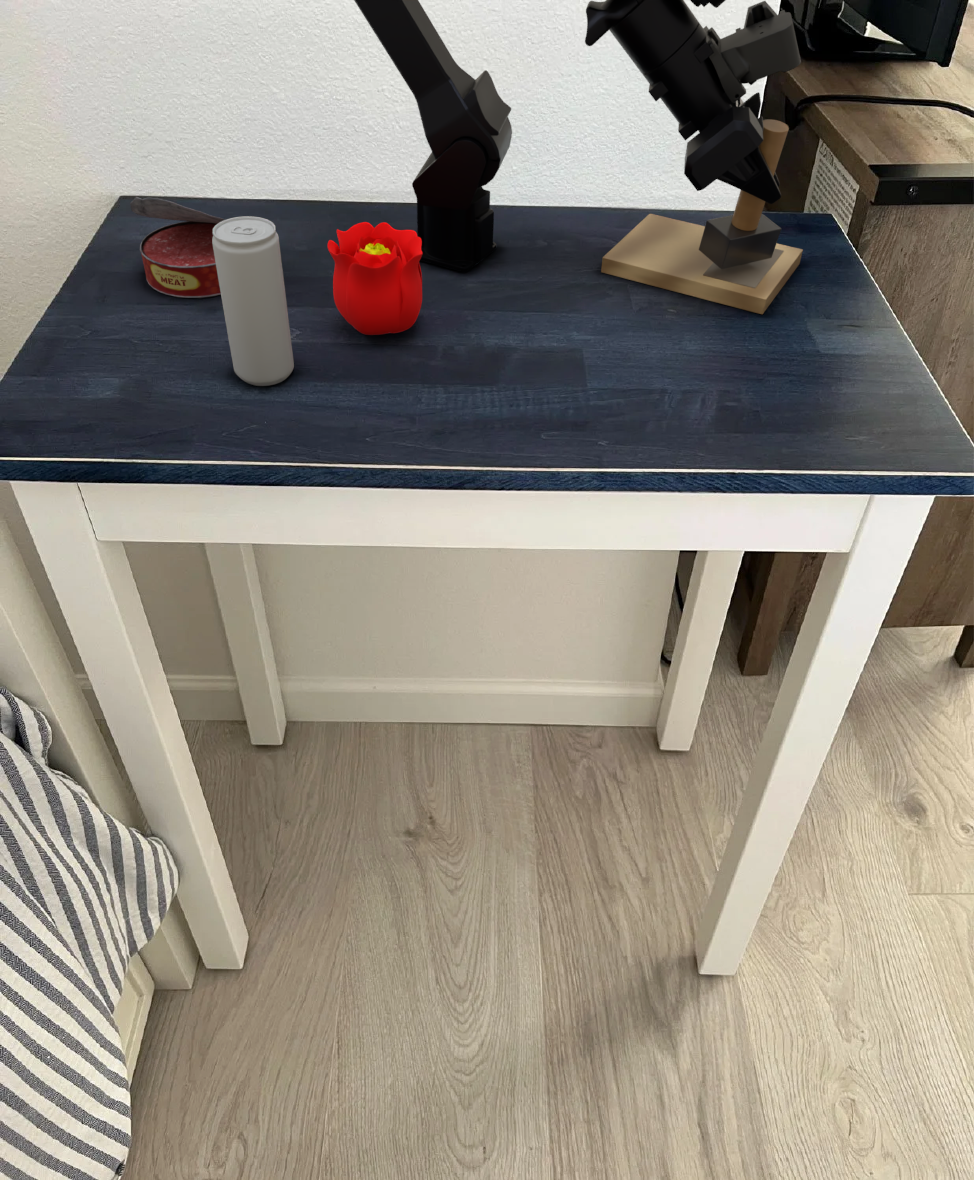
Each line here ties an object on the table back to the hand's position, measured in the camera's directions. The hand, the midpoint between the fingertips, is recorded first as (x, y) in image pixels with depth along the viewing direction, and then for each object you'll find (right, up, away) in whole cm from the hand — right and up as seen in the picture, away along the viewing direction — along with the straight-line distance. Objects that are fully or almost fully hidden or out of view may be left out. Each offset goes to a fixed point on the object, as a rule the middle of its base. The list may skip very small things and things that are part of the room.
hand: (775, 194), depth 89 cm
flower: (-35, -13, -2) cm, 37 cm away
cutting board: (-5, -4, +8) cm, 10 cm away
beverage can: (-44, -18, -8) cm, 48 cm away
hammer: (-2, -4, +5) cm, 7 cm away
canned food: (-52, -6, +5) cm, 53 cm away
